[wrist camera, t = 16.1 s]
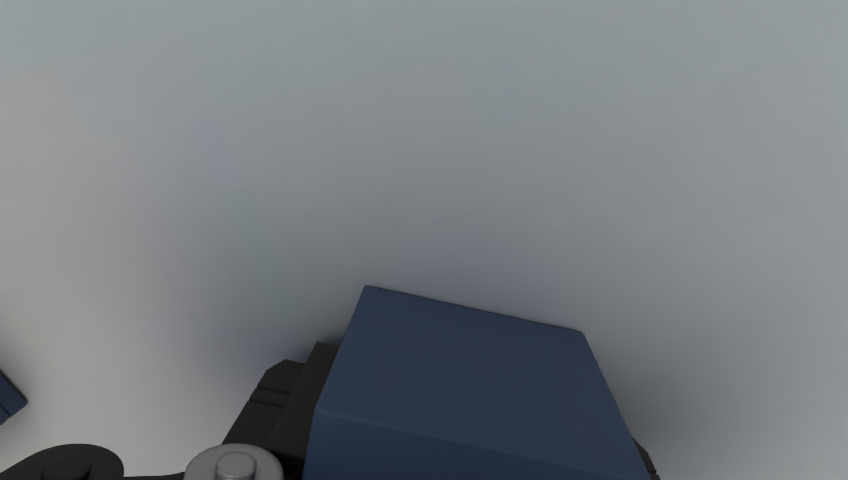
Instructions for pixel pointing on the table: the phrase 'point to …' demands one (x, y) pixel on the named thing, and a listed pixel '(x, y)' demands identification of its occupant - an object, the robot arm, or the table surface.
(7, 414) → the slate bin
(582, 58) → the table surface
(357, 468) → the slate block
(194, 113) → the table surface
